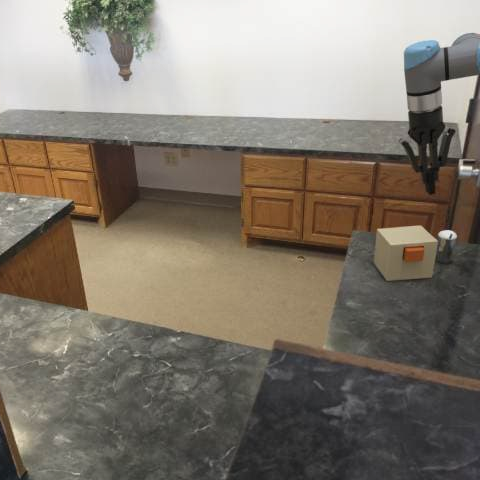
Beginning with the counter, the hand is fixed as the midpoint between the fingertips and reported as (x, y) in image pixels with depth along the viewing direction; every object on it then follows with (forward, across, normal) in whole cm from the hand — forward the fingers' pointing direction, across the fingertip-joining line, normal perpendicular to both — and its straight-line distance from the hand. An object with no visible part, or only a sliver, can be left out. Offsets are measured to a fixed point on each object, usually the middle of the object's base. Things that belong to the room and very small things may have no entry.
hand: (430, 192), depth 135 cm
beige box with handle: (+19, +10, +5) cm, 23 cm away
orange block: (+13, +9, +10) cm, 19 cm away
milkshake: (+22, -2, +2) cm, 22 cm away
